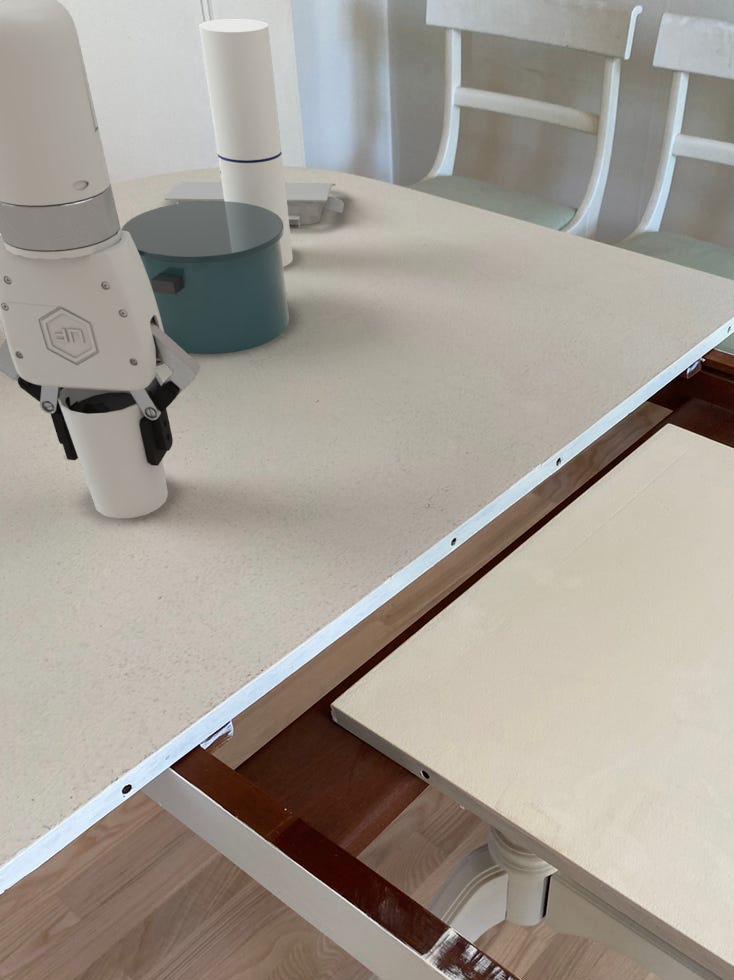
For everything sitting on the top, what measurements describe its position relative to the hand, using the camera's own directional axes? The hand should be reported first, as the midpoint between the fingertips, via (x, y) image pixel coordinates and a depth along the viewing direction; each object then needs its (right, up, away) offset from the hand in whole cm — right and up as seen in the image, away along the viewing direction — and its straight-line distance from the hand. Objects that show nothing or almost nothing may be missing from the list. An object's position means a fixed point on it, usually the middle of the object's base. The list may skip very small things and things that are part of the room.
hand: (119, 451), depth 77 cm
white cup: (0, -4, +3) cm, 5 cm away
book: (-2, +43, +55) cm, 70 cm away
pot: (0, +19, +28) cm, 34 cm away
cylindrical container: (+2, +31, +42) cm, 52 cm away
